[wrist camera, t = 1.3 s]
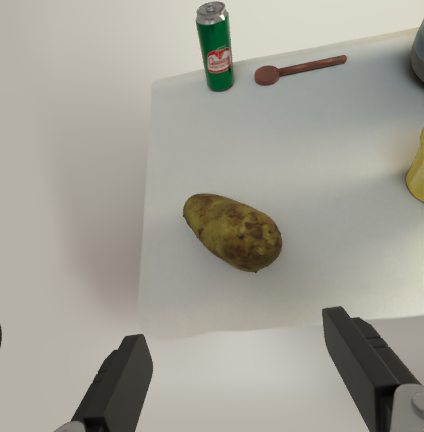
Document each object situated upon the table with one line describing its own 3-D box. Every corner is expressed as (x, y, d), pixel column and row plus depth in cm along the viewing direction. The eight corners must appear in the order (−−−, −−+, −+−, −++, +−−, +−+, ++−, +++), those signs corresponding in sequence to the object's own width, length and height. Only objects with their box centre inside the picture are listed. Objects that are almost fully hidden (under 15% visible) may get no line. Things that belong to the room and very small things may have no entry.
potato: (235, 188, 35) (230, 148, 28) (289, 265, 29) (300, 238, 22) (183, 215, 34) (164, 181, 27) (226, 300, 28) (216, 284, 21)
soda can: (211, 95, 46) (198, 20, 35) (205, 80, 48) (191, 6, 38) (237, 87, 46) (231, 10, 35) (230, 73, 48) (222, -4, 38)
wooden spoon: (257, 87, 45) (256, 81, 44) (252, 73, 47) (252, 67, 46) (349, 68, 43) (352, 61, 42) (341, 55, 45) (343, 48, 44)
